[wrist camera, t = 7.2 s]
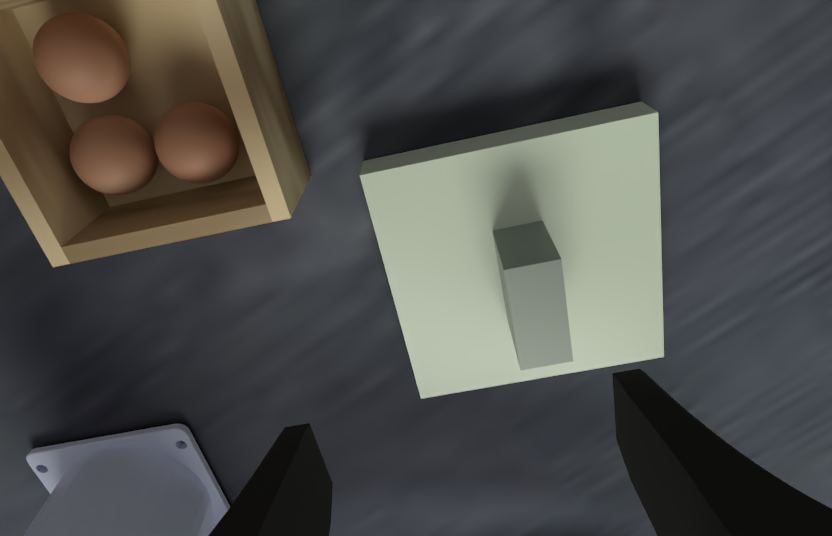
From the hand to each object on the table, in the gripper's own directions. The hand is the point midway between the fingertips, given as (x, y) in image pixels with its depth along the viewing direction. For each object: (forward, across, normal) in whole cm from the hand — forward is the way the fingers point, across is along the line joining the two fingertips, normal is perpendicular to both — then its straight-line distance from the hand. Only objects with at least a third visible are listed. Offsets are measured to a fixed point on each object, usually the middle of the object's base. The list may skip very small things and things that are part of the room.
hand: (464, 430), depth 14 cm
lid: (+10, -3, +1) cm, 11 cm away
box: (+10, +8, -8) cm, 15 cm away
